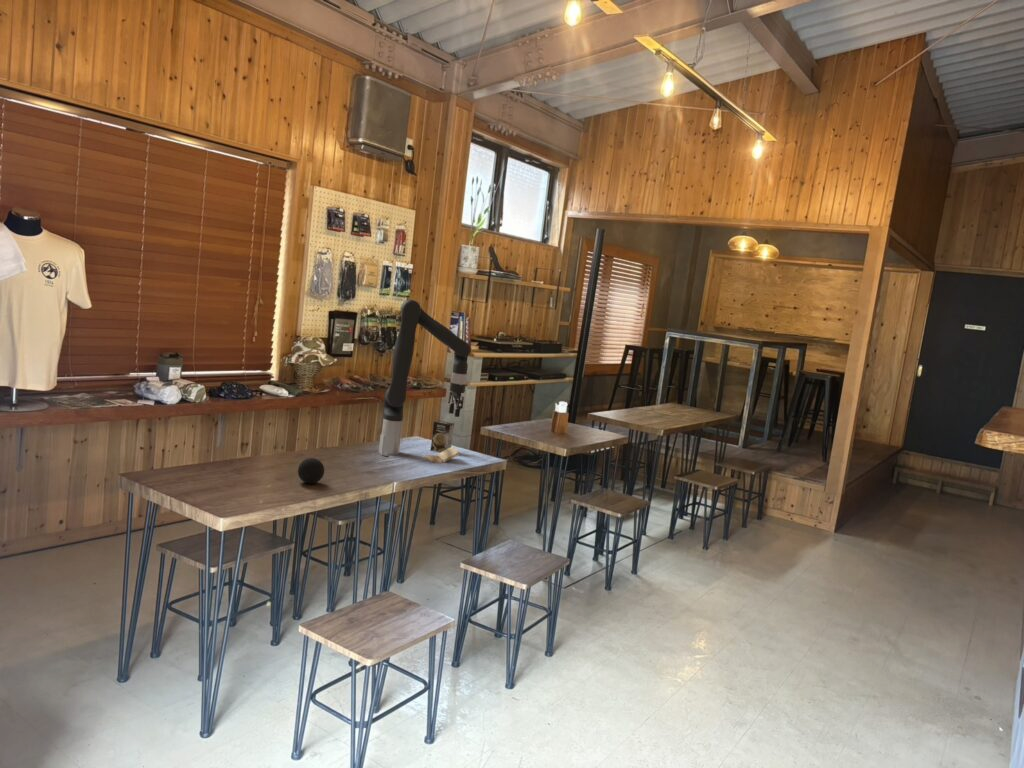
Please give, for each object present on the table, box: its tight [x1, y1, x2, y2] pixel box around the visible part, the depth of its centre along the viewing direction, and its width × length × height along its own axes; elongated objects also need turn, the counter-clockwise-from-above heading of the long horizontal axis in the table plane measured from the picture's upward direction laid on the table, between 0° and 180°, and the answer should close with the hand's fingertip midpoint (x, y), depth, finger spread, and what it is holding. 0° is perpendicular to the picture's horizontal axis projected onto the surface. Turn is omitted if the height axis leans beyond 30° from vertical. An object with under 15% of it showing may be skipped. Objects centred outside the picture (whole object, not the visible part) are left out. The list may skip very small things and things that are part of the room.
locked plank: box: [424, 454, 444, 464], centre depth 347 cm, size 6×11×1 cm, turn 24°
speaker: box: [297, 457, 325, 485], centre depth 285 cm, size 10×10×10 cm
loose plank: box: [435, 446, 461, 463], centre depth 350 cm, size 9×11×1 cm
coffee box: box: [430, 420, 455, 453], centre depth 368 cm, size 9×6×16 cm
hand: (453, 415), depth 356 cm, fingers open, 8 cm apart
